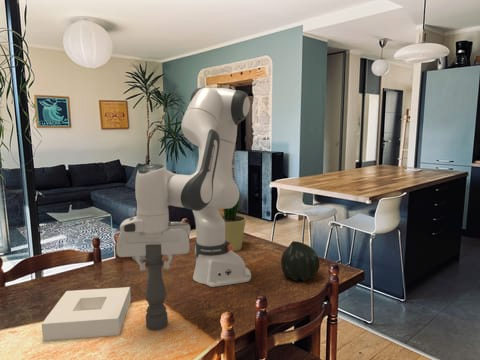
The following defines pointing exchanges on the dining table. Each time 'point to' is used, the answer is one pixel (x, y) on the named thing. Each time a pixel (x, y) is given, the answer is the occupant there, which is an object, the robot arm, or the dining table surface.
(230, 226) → the potted cactus
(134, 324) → the dining table surface
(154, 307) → the candle holder
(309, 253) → the squash
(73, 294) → the socket block
